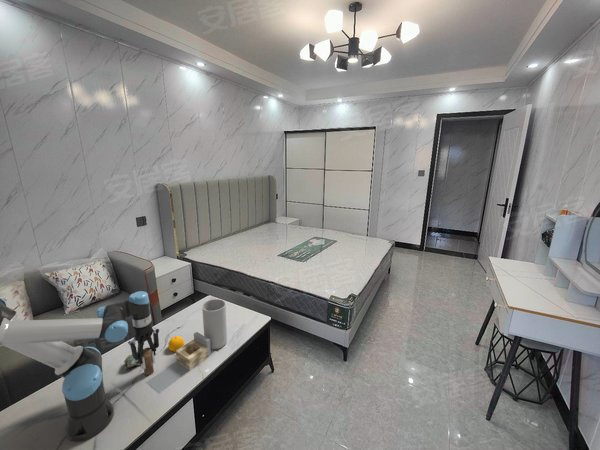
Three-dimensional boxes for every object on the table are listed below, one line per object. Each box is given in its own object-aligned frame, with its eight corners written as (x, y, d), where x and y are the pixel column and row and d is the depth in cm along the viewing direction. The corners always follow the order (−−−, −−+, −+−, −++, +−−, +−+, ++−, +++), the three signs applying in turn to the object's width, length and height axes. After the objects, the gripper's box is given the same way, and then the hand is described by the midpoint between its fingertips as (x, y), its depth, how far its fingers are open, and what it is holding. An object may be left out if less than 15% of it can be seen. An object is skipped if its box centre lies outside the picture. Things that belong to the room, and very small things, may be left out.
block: (189, 370, 132) (188, 359, 130) (176, 361, 137) (175, 350, 136) (207, 357, 141) (207, 347, 139) (194, 349, 146) (194, 339, 145)
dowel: (147, 378, 127) (144, 354, 124) (143, 374, 129) (139, 351, 126) (155, 373, 131) (152, 349, 127) (151, 369, 133) (148, 346, 129)
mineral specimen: (125, 373, 129) (130, 359, 128) (121, 361, 135) (126, 347, 135) (151, 368, 138) (156, 355, 137) (147, 357, 144) (151, 344, 143)
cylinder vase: (200, 347, 149) (197, 309, 143) (212, 334, 161) (210, 297, 154) (220, 352, 146) (218, 312, 140) (230, 337, 158) (229, 300, 152)
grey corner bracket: (159, 395, 119) (156, 375, 116) (146, 384, 124) (143, 364, 122) (211, 356, 143) (209, 339, 140) (198, 348, 148) (196, 331, 145)
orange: (173, 356, 142) (172, 344, 140) (166, 349, 147) (164, 338, 145) (187, 348, 148) (186, 337, 146) (179, 342, 153) (178, 331, 151)
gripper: (127, 336, 114) (133, 380, 120) (164, 317, 128) (168, 357, 134) (118, 329, 118) (125, 372, 124) (155, 312, 132) (160, 351, 137)
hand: (148, 364), depth 129 cm, fingers closed on dowel, 4 cm apart
